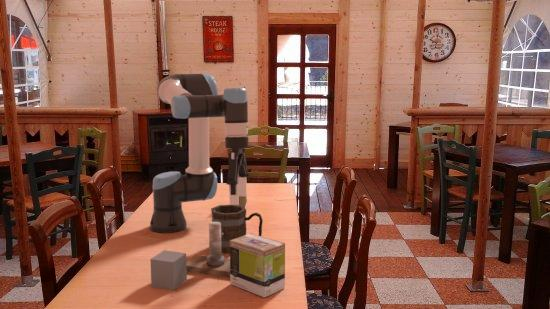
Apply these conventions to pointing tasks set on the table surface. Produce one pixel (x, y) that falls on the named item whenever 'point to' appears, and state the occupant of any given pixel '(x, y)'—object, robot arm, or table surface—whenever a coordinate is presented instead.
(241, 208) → the mug
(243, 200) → the squeeze bottle
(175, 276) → the gray cube
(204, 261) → the brown base with rod
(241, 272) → the tea box
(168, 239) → the table surface
